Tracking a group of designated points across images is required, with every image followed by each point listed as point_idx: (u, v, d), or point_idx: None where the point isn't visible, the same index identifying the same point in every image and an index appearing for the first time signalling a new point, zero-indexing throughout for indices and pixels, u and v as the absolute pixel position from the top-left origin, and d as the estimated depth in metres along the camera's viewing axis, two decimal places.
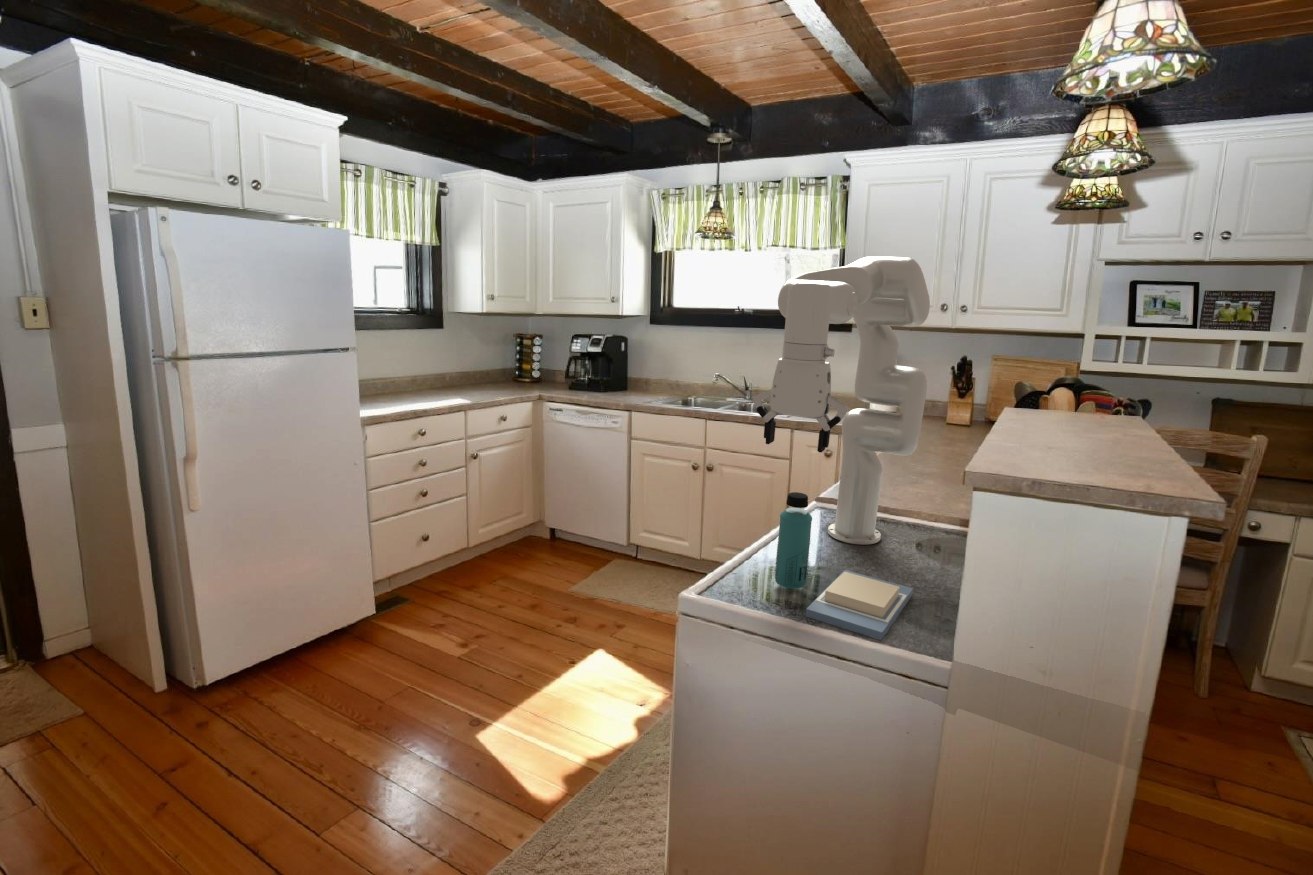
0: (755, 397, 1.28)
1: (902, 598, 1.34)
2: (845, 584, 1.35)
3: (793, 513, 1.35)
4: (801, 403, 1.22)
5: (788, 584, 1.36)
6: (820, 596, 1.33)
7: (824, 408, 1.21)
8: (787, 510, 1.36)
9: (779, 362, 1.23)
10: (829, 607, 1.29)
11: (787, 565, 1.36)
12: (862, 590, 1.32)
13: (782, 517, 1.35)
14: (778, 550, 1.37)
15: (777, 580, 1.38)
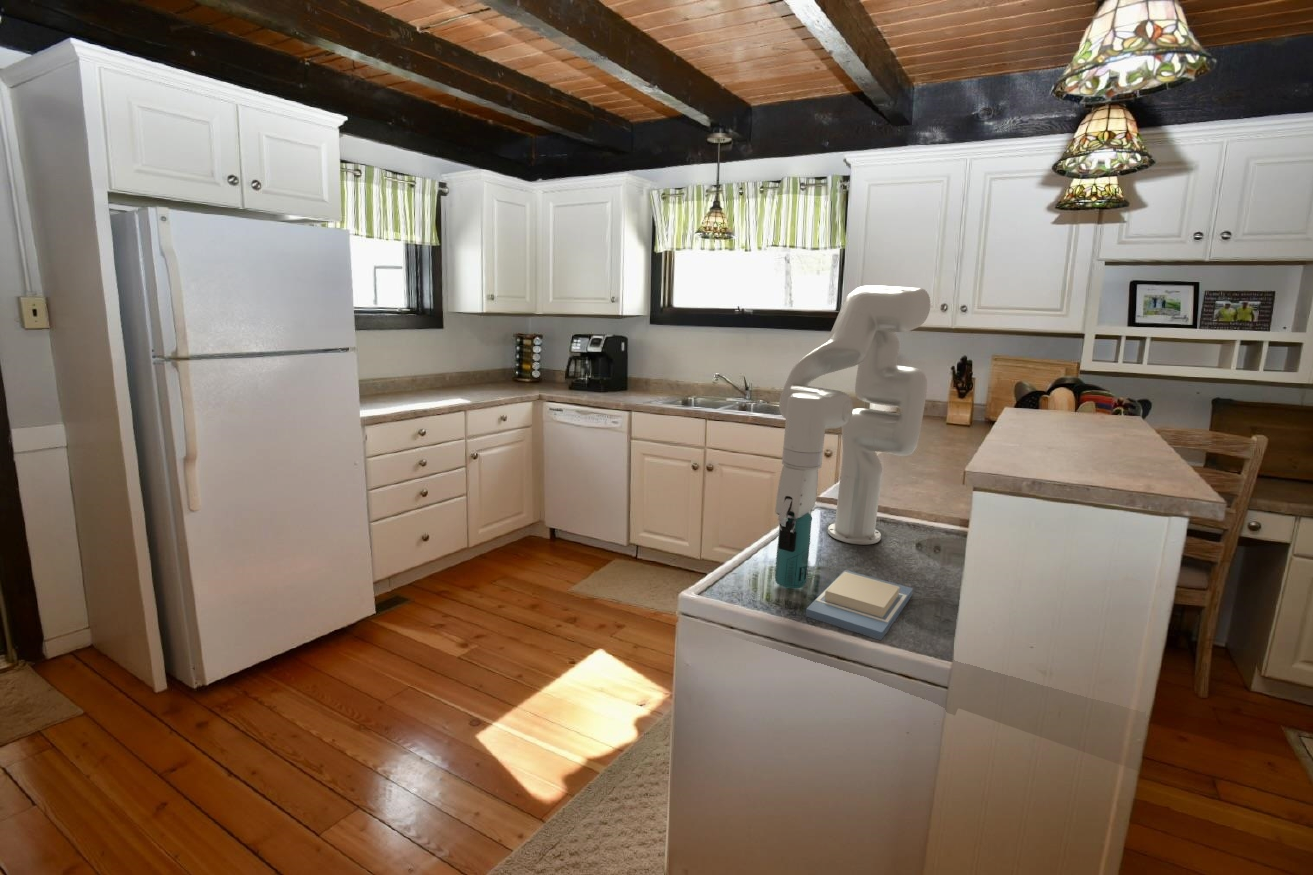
0: (785, 517, 1.29)
1: (902, 598, 1.34)
2: (845, 584, 1.35)
3: (793, 513, 1.35)
4: (811, 501, 1.35)
5: (788, 584, 1.36)
6: (820, 596, 1.33)
7: None
8: None
9: (803, 472, 1.30)
10: (829, 607, 1.29)
11: (787, 565, 1.36)
12: (862, 590, 1.32)
13: None
14: (778, 550, 1.37)
15: (777, 580, 1.38)
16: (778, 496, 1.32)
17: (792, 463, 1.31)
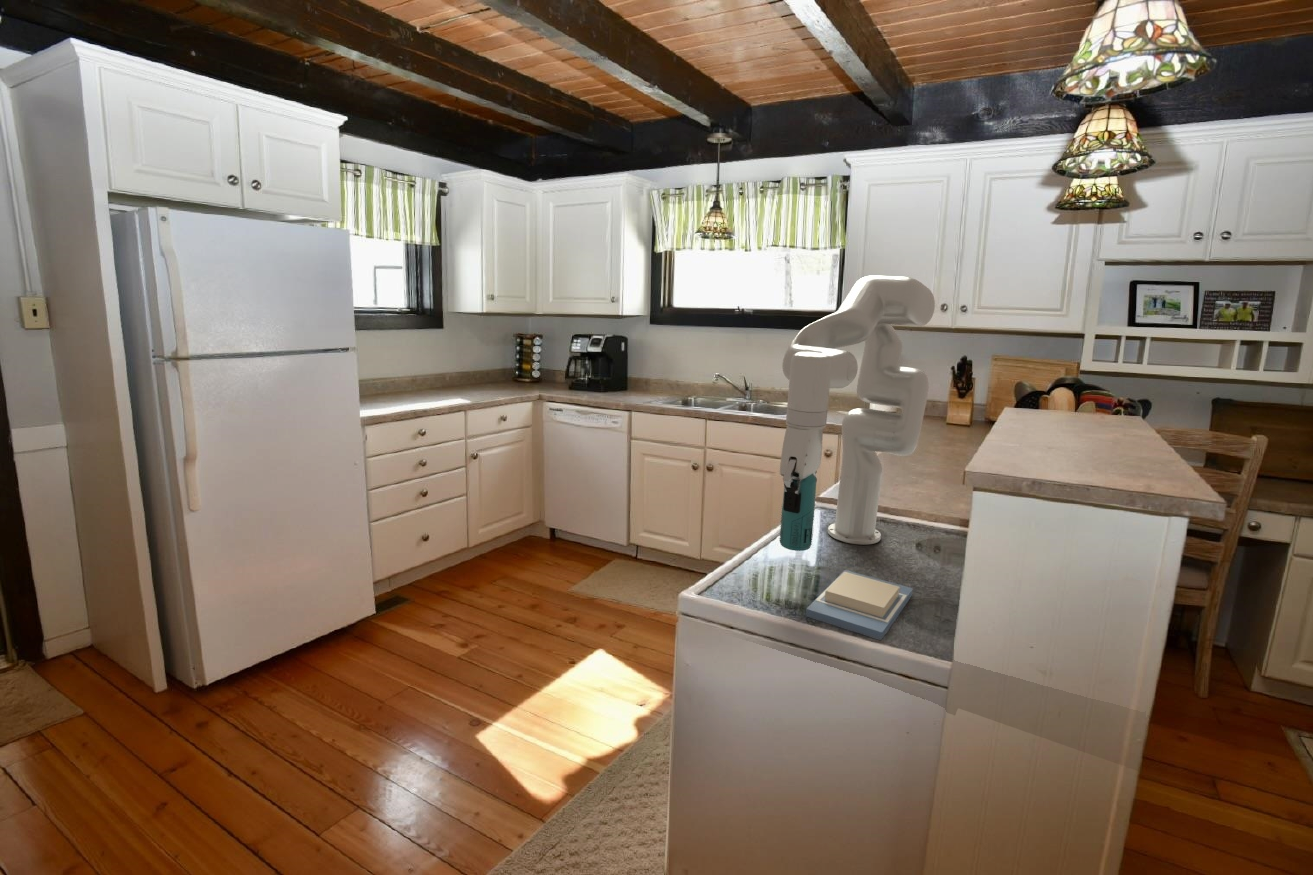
0: (789, 478, 1.28)
1: (902, 598, 1.34)
2: (845, 584, 1.35)
3: (798, 474, 1.33)
4: (815, 462, 1.33)
5: (793, 546, 1.35)
6: (820, 596, 1.33)
7: None
8: None
9: (807, 432, 1.28)
10: (829, 607, 1.29)
11: (791, 527, 1.34)
12: (862, 590, 1.32)
13: None
14: (783, 512, 1.36)
15: (782, 543, 1.37)
16: (782, 457, 1.31)
17: (796, 423, 1.29)
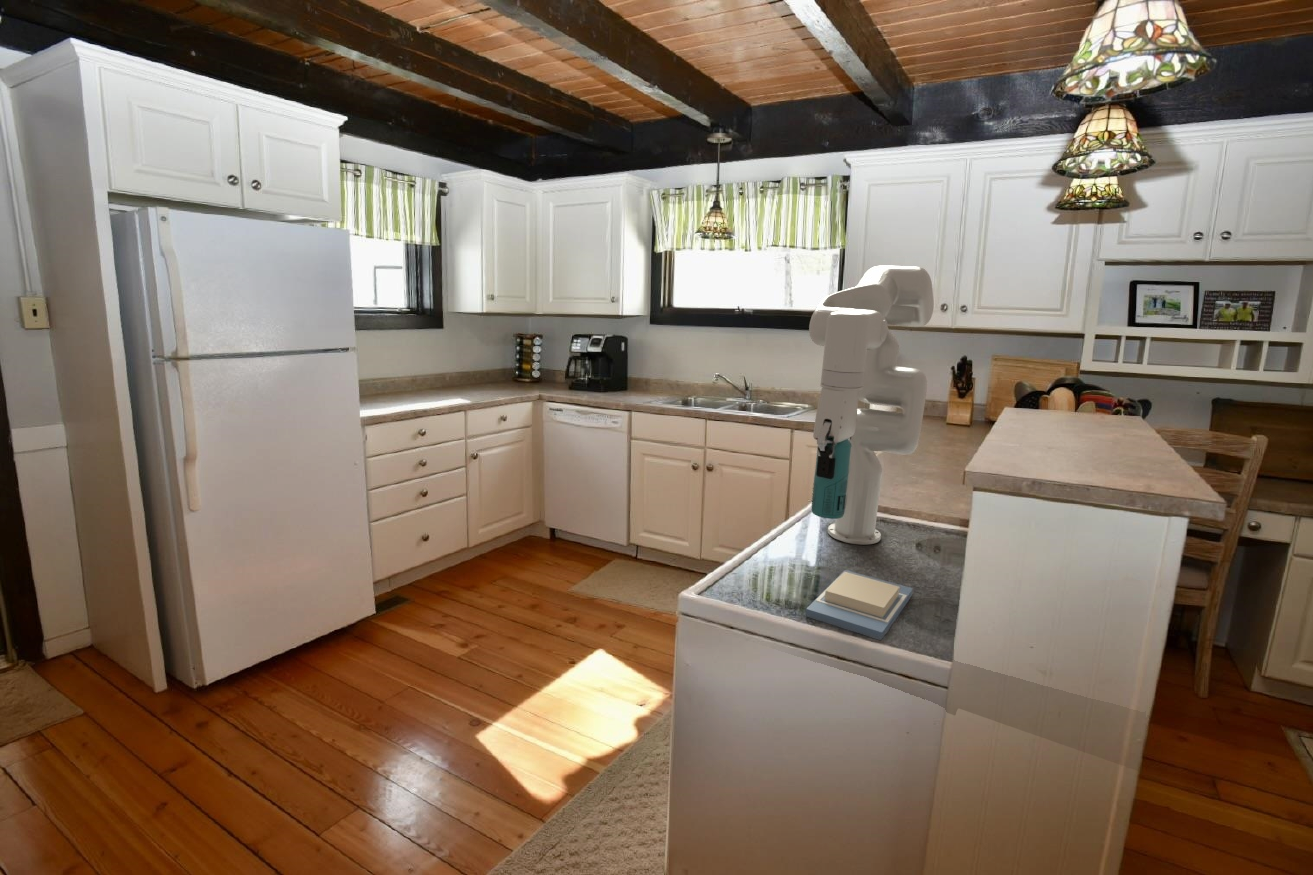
0: (824, 440, 1.23)
1: (902, 598, 1.34)
2: (845, 584, 1.35)
3: (832, 439, 1.29)
4: (851, 426, 1.29)
5: (826, 514, 1.30)
6: (820, 596, 1.33)
7: None
8: None
9: (843, 393, 1.24)
10: (829, 607, 1.29)
11: (824, 494, 1.30)
12: (862, 590, 1.32)
13: None
14: (815, 479, 1.31)
15: (814, 510, 1.32)
16: (816, 419, 1.26)
17: (832, 384, 1.25)
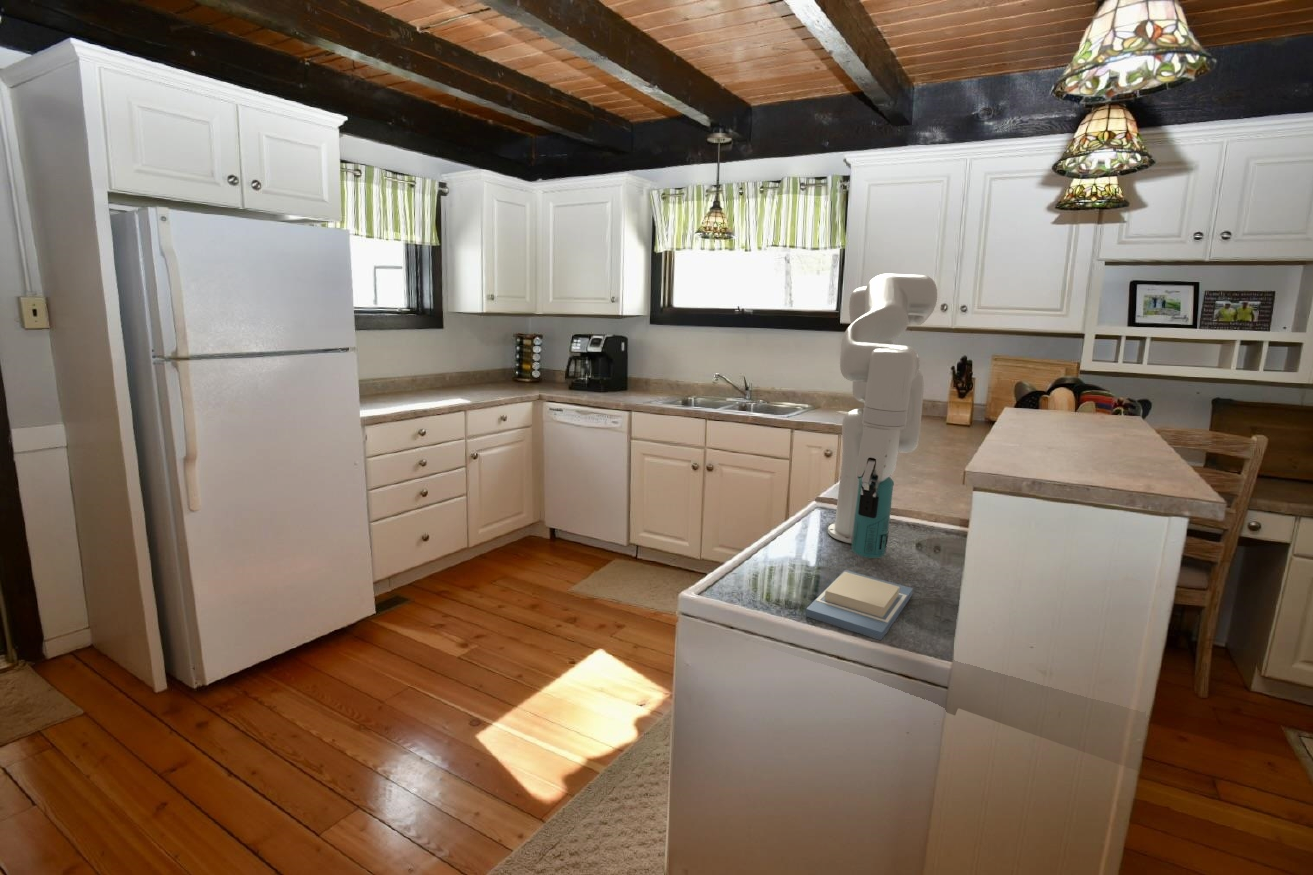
0: (869, 480, 1.21)
1: (902, 598, 1.34)
2: (845, 584, 1.35)
3: (874, 477, 1.26)
4: (893, 464, 1.27)
5: (868, 553, 1.28)
6: (820, 596, 1.33)
7: None
8: None
9: (888, 432, 1.22)
10: (829, 607, 1.29)
11: (866, 533, 1.27)
12: (862, 590, 1.32)
13: None
14: (856, 517, 1.29)
15: (855, 549, 1.30)
16: (860, 458, 1.24)
17: (876, 422, 1.23)
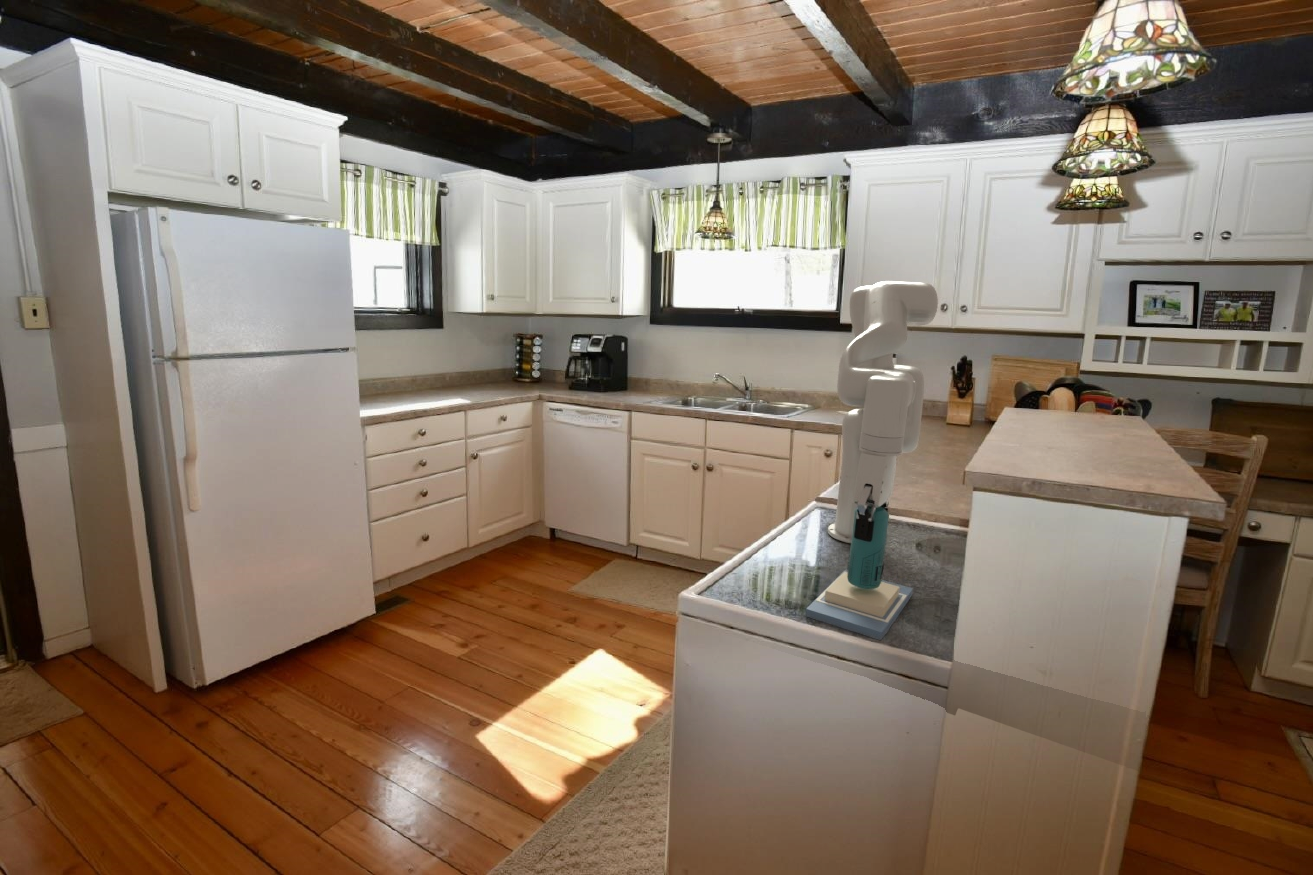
0: (865, 503, 1.22)
1: (902, 598, 1.34)
2: (845, 584, 1.35)
3: (870, 509, 1.28)
4: (889, 489, 1.28)
5: (863, 584, 1.30)
6: (820, 596, 1.33)
7: None
8: None
9: (885, 458, 1.23)
10: (829, 607, 1.29)
11: (862, 564, 1.29)
12: (862, 590, 1.32)
13: None
14: (852, 548, 1.30)
15: (851, 580, 1.31)
16: (857, 484, 1.25)
17: (872, 449, 1.24)
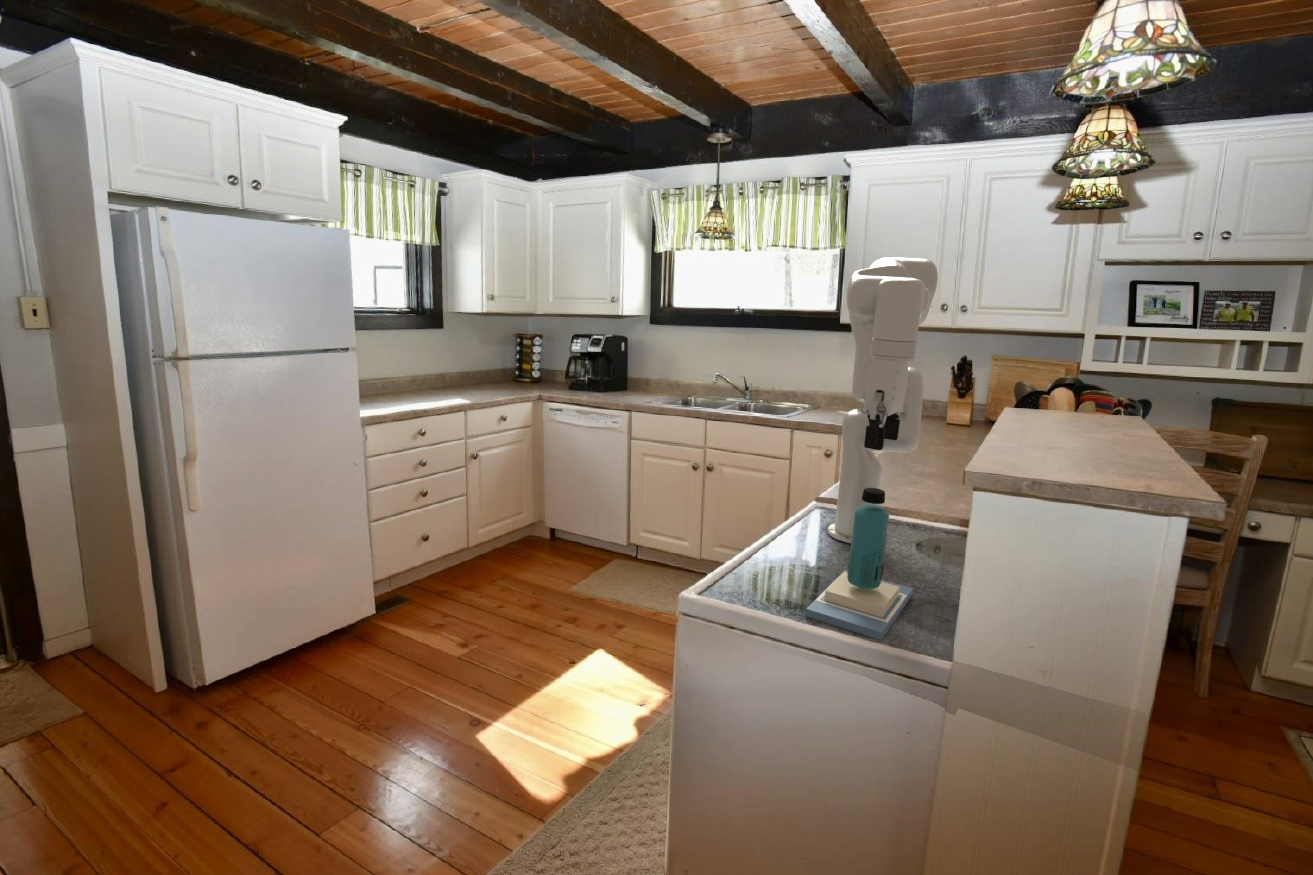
0: (877, 406, 1.18)
1: (902, 598, 1.34)
2: (845, 584, 1.35)
3: (870, 509, 1.28)
4: (901, 398, 1.24)
5: (863, 584, 1.30)
6: (820, 596, 1.33)
7: None
8: (862, 506, 1.29)
9: (897, 363, 1.19)
10: (829, 607, 1.29)
11: (862, 564, 1.29)
12: (862, 590, 1.32)
13: (858, 514, 1.28)
14: (852, 549, 1.30)
15: (851, 580, 1.31)
16: (868, 391, 1.21)
17: (884, 354, 1.20)
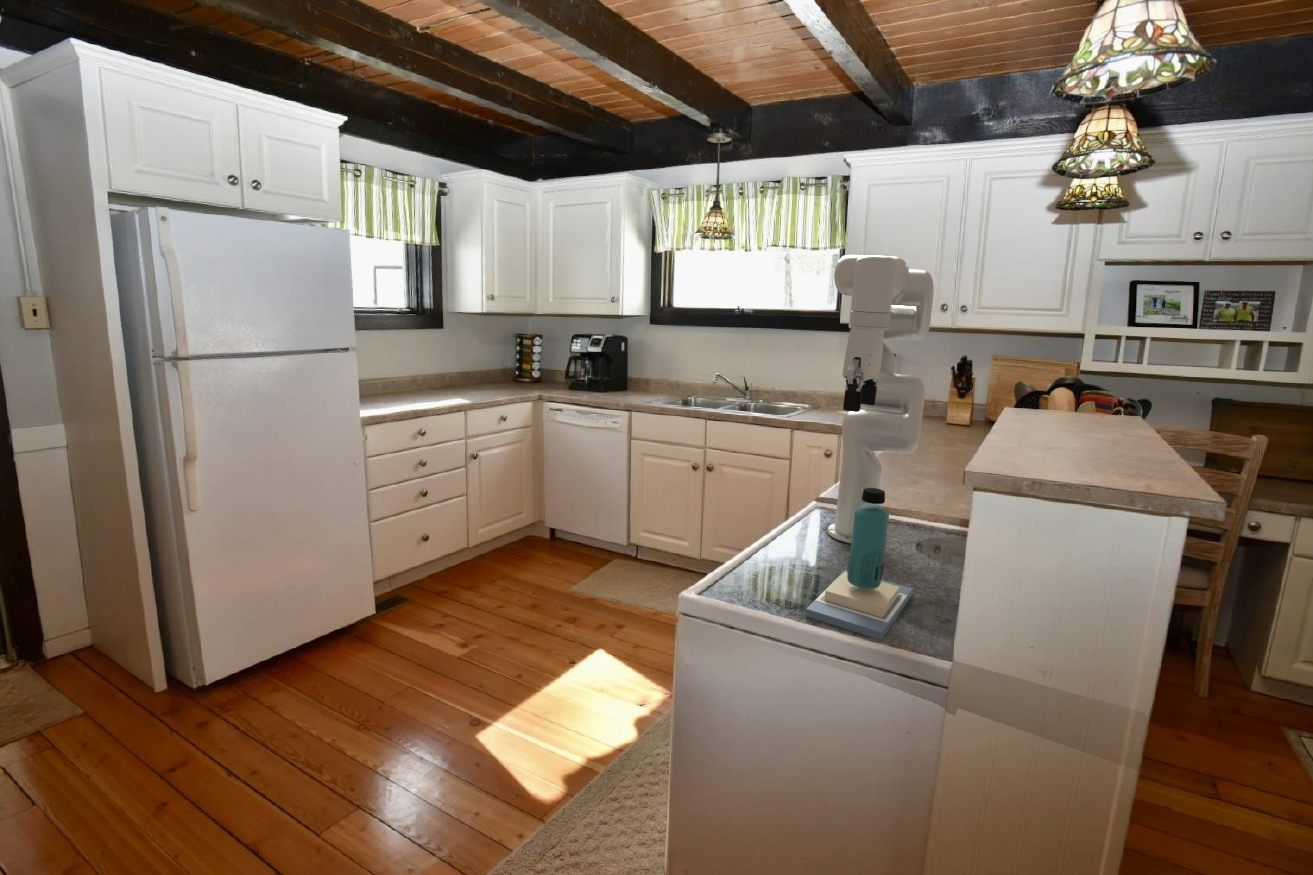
0: (853, 370, 1.30)
1: (902, 598, 1.34)
2: (845, 584, 1.35)
3: (869, 509, 1.28)
4: (877, 366, 1.36)
5: (863, 584, 1.30)
6: (820, 596, 1.33)
7: None
8: (862, 506, 1.29)
9: (872, 332, 1.31)
10: (829, 607, 1.29)
11: (862, 564, 1.29)
12: (862, 590, 1.32)
13: (858, 514, 1.28)
14: (852, 549, 1.30)
15: (851, 580, 1.31)
16: (846, 358, 1.33)
17: (861, 324, 1.32)
